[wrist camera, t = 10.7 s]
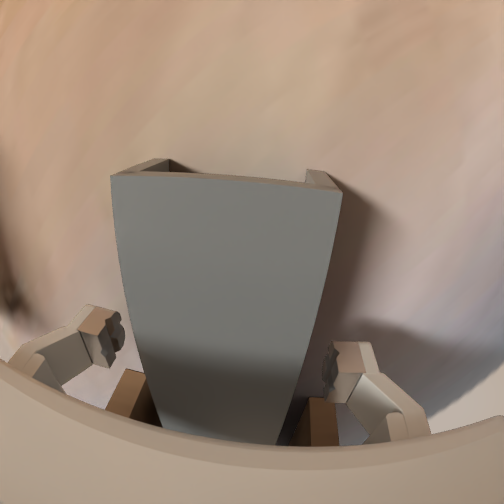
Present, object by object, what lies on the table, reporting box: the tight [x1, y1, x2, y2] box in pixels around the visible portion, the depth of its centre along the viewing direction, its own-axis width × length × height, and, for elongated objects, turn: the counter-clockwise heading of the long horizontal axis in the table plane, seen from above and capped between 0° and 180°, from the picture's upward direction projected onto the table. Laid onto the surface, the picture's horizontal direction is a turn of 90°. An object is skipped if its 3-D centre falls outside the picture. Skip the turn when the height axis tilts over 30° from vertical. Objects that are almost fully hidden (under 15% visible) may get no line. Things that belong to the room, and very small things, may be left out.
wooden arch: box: [105, 369, 339, 447], centre depth 12 cm, size 8×12×10 cm, turn 86°
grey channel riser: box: [110, 159, 343, 445], centre depth 12 cm, size 20×6×3 cm, turn 176°
